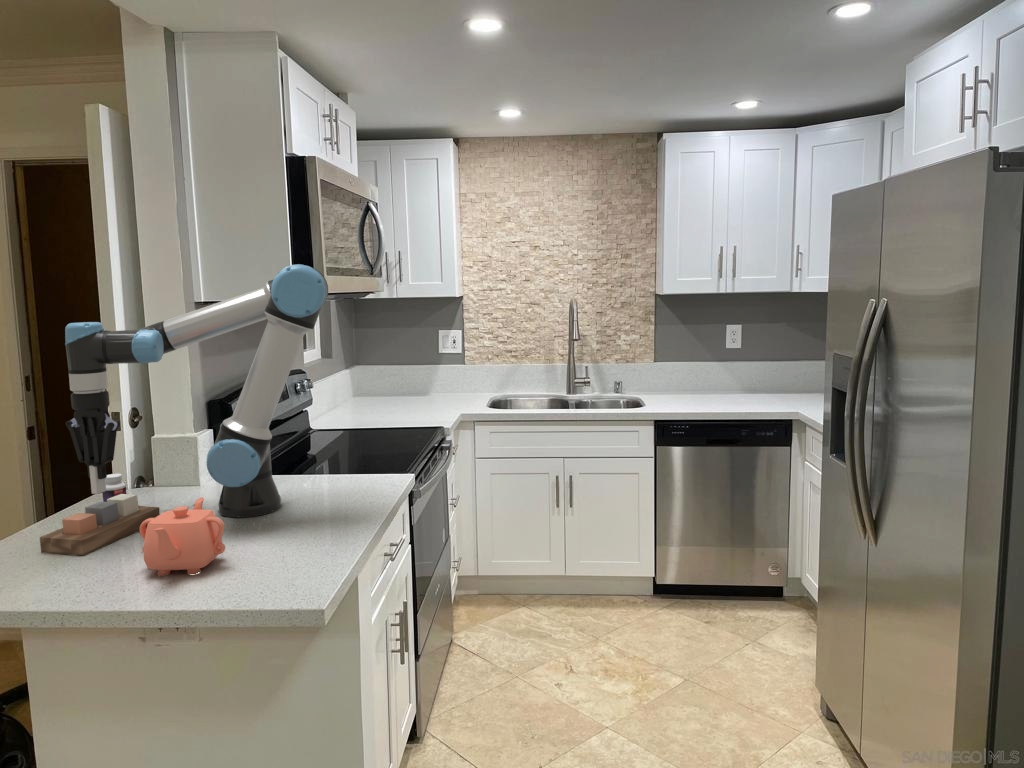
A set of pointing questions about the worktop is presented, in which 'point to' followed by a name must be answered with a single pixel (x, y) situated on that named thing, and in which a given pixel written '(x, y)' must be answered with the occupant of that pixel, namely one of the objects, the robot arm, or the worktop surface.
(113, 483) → the pill bottle
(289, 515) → the worktop surface
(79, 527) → the salmon orange cube
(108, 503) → the slate key
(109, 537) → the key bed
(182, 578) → the worktop surface
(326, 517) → the worktop surface
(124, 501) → the cream cube
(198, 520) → the teapot
